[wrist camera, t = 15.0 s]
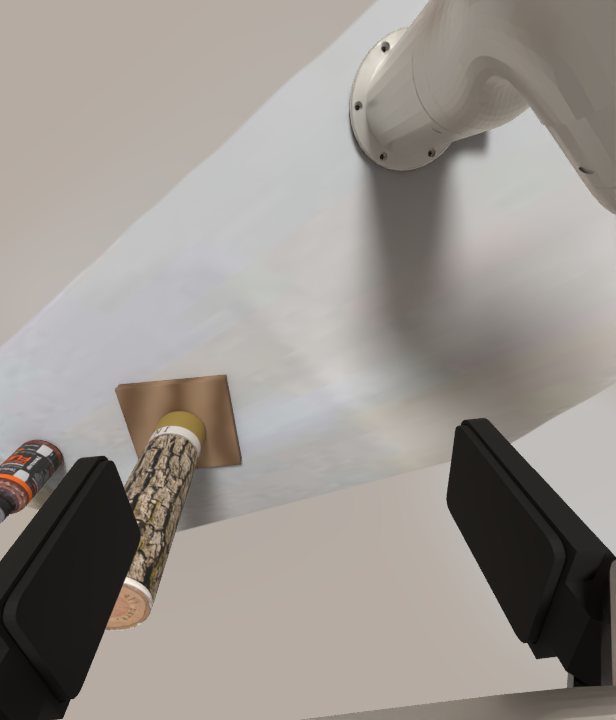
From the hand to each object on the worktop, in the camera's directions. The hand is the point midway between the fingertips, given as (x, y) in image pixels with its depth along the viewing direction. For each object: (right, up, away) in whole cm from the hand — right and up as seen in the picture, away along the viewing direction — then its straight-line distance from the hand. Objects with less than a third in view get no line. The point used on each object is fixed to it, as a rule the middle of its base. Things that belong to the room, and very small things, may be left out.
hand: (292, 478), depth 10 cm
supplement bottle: (-40, -11, +44) cm, 61 cm away
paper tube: (-18, -7, +42) cm, 47 cm away
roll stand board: (-18, -6, +44) cm, 48 cm away
